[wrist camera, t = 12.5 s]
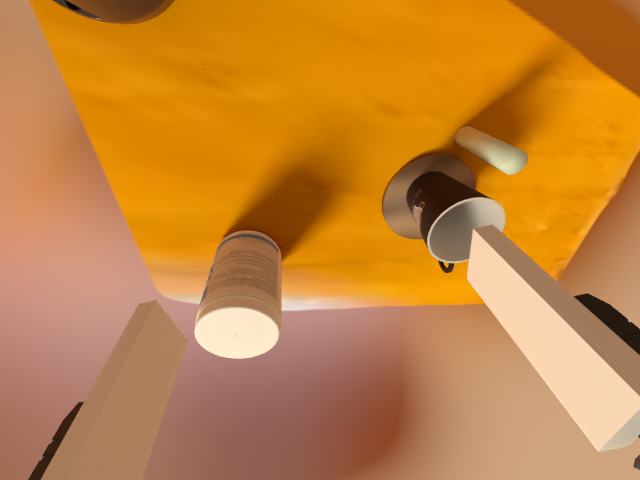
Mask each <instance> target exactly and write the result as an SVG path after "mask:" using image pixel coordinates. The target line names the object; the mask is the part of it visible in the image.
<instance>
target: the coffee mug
mask: <svg viewBox="0 0 640 480" xmlns="http://www.w3.org/2000/svg"><path fill="white" fill-rule="evenodd" d="M406 201H407V204H408V207H409V209H410V211H411V213H412V215H413V217H414V220H415V222H416V224H417V226H418V228H419V230H420V233H421V235H422V237H423V239H424V241H425V243H426V246H427V248H428V250H429V252H430V253H431V255H432V256H433V257H434V258H435V259H437V260H438V262H439V265H440V267H441V269H442V270H443V271H444V272H445V273H450V272H451V271H452V270H453V267H454V263H461V262H465V261H468V260H469V258H470V250H471V242H472V234H473V229H474V228H479V227H483V226H487V225H492V224H493V225H494V226H495V227H496V228H497V229H498V230H499V231H501V232H502V231H503V229H504V226H505V212H504V209H503V208H502V207H501V205H500V204H499V203H497V202H496V201H495V200H493V199H491V198H489V197H487V196H485V195H483V194H482V193H480V192H478V191H476V190H474V189H472V188H470V187H469V186H467V185H465V184H463V183H461V182H459V181H457V180H455V179H454V178H452V177H450V176H448V175H446V174H444V173H442V172H438V171H431V172H427V173H425V174H422V175H421V176H419V177H418V178H416V179H415V180H414V181H413V182H412V184H411V185H410V187H409V188H408V191H407V195H406ZM443 262H445V263H449V266H448V268H446V267H445V265H444V264H443Z"/></svg>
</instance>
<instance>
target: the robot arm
mask: <svg viewBox="0 0 640 480" xmlns="http://www.w3.org/2000/svg"><path fill="white" fill-rule="evenodd" d="M53 1H54V2H56V3H58V4H59V5H61V6H63V7H64V8H66V9H68V10H70V11H72V12H75V13H77V14H79V15H82V16H84V17H87V18H90V19H94V20H97V21H102V22H109V23H118V24H134V23H140V22H144V21H147V20H150V19H152V18H154V17H156V16H158V15H159V14H161V13H162V12H163V11H165V10H166V9H167V8H168V7H169V6H170V5H171V4H172V2H173V1H174V0H53ZM467 280H468V281H469V282H470V284H471V285H472V286H473V287H474V289H475V290H476V291H477V293H478V294H479V295H480V297H481V298H482V299H483V301H484V302H485V303H486V305H487V306H488V307H489V309H490V310H491V311H492V313H493V314H494V315H495V316H496V318H497V319H498V320H499V322H500V323H501V324H502V326H503V327H504V328H505V330H506V331H507V332H508V334H509V335H510V336H511V338H512V339H513V340H514V341H515V343H516V344H517V345H518V347H519V348H520V349H521V351H522V352H523V353H524V355H525V356H526V357H527V359H528V360H529V361H530V363H531V364H532V365H533V367H534V368H535V369H536V370H537V372H538V373H539V374H540V376H541V377H542V378H543V380H544V381H545V382H546V384H547V385H548V386H549V388H550V389H551V390H552V392H553V393H554V394H555V396H556V397H557V398H558V399H559V401H560V402H561V403H562V405H563V406H564V407H565V409H566V410H567V411H568V413H569V414H570V415H571V417H572V418H573V419H574V421H575V422H576V423H577V425H578V426H579V427H580V428H581V430H582V431H583V432H584V434H585V435H586V436H587V438H588V439H589V440H590V442H591V443H592V444H593V446H594V447H595V448H596V450H598V452H600V451H606V450H611V449H616V448H621V447H626V446H629V445H630V444H631V443H632V442H633V441H634V440H635V439H637V438H638V437H639V438H640V329H639V328H638V327H637V326H635V325H634V324H633V323H632V322H631V323H630V322H628V319H627V318H626V317H624V316H623V315H622V314H621V313H619V312H618V311H617V310H616V309H615V308H613V307H612V306H611V305H610V304H608V303H606V302H604V301H602V300H600V299H598V298H596V297H594V296H592V295H590V294H583V295H578V296H572V295H571V294H570V293H569V292H568V291H566V289H565V288H563V287H562V286H561V285H560V284H559V283H558V282H557V281H556V280H554V279H553V278H552V277H551V276H550V275H549V274H548V273H547V272H545V271H544V270H543V269H542V268H541V267H540V266H539V265H538V264H536V263H535V262H534V261H533V260H532V259H531V258H530V257H529V256H527V255H526V254H525V253H524V252H523V251H522V250H521V249H520V248H519V247H517V246H516V245H515V244H514V243H513V242H512V241H511V240H510V239H508V238H507V237H506V236H505V235H504V234H503V233H502V232H501V231H499V230H498V229H497V228H496V227H495V226H494V225H493V224H492V225H487V226H483V227H479V228H474V229H473V234H472V242H471V250H470V258H469V266H468V274H467ZM187 341H188V339H187V338H186V337H185V336H184V335H183V333H182V332H181V331H180V329H179V328H178V327H177V326H176V324H175V323H174V322H173V321H172V319H171V318H170V317H169V316H168V314H167V313H166V312H165V311H164V309H163V308H162V307H161V305H160V304H159V303H158V302H157V301H156V300H155V301H151V302H146V303H142V304H139V305H138V307H137V308H136V310H135V312H134V314H133V316H132V317H131V319H130V321H129V323H128V324H127V326H126V328H125V330H124V331H123V333H122V335H121V337H120V339H119V341H118V342H117V344H116V346H115V347H114V349H113V351H112V353H111V355H110V356H109V358H108V360H107V362H106V364H105V365H104V367H103V369H102V371H101V373H100V375H99V376H98V378H97V380H96V381H95V383H94V385H93V387H92V389H91V391H90V392H89V394H88V396H87V398H86V399H85V401H84V402H79V403H78V404H77V405H76V406H75V408H73V410H72V411H71V412H70V413H69V414H68V415H67V417H66V418H65V419H64V420H63V421H62V423H61V425H60V427H59V428H58V430H57V432H56V433H55V435H54V437H53V438H52V443H51V444H49V445H48V447H47V449H46V450H45V452H44V454H43V456H42V460H41V461H39V462H38V464H37V466H36V467H35V469H34V471H33V472H32V474H31V476H30V478H29V479H28V480H142V477H143V474H144V471H145V468H146V465H147V462H148V459H149V456H150V453H151V450H152V447H153V444H154V441H155V438H156V435H157V432H158V429H159V426H160V423H161V419H162V416H163V414H164V411H165V407H166V404H167V401H168V398H169V395H170V392H171V389H172V386H173V383H174V380H175V377H176V374H177V371H178V368H179V365H180V362H181V359H182V356H183V353H184V350H185V347H186V343H187ZM634 467H635V468H637V469H639V470H640V455H639V456H638V457H637V458H636V459H635V462H634Z"/></svg>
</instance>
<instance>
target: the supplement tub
mask: <svg viewBox="0 0 640 480" xmlns="http://www.w3.org/2000/svg"><path fill="white" fill-rule="evenodd" d="M280 328H281V251H280V249H279V247H278V245H277V244H276V243H275V242H274V240H272V239H271V238H270V237H269V236H267V235H265V234H263V233H261V232H258V231H253V230H242V231H237V232H234V233H232V234H230V235H228V236H227V237H225V238H224V239H223V240H222V241H221V242H220V244H219V246H218V248H217V251H216V254H215V257H214V261H213V264H212V267H211V270H210V273H209V277H208V280H207V283H206V286H205V290H204V293H203V296H202V299H201V303H200V306H199V310H198V313H197V317H196V325H195V337H196V339H197V341H198V342H199V344H200V345H201V346H202V347H203V348H205V349H206V350H207V351H209V352H211V353H213V354H216V355H219V356H222V357H227V358H249V357H254V356H257V355H260V354H262V353H265V352H266V351H268V350H269V349H271V348H272V347H273V346H274V345H275V344H276V342H277V341H278V338H279V335H280Z"/></svg>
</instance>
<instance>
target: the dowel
mask: <svg viewBox="0 0 640 480" xmlns="http://www.w3.org/2000/svg"><path fill="white" fill-rule="evenodd" d="M454 139H455V142H456V143H457V144H458V145H460V146H461V147H463V148H465V149H466V150H468V151H470V152H471V153H473V154H475V155H476V156H478V157H480V158H481V159H483V160H485V161H486V162H488V163H490V164H491V165H493V166H495V167H496V168H498V169H499V170H501V171H503V172H504V173H506V174H509V175H511V174H515V173H518V172H519V171H521V170H522V169H523V168H524V166H525V165H526V163H527V161H528V155H527V153H526V152H524V151H522V150H520V149H518V148H516V147H513V146H511V145H509V144H507V143H505V142H503V141H501V140H498V139H496V138H494V137H492V136H490V135H488V134H486V133H483V132H481V131H479V130H477V129H475V128H473V127H471V126H463V127H461V128H459V129H458V130H457V132H456V134H455V137H454Z"/></svg>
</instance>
